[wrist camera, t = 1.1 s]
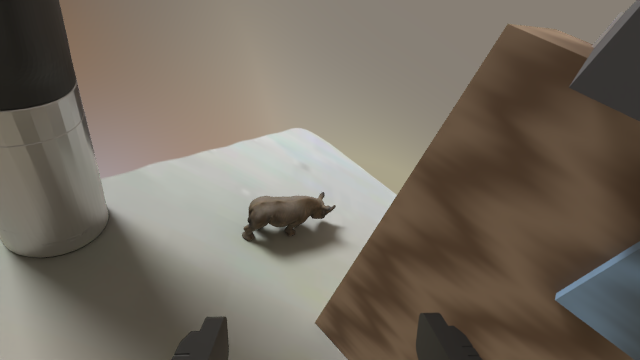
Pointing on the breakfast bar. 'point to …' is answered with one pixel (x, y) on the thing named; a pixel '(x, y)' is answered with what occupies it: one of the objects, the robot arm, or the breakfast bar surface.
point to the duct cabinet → (509, 222)
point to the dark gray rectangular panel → (615, 66)
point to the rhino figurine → (284, 212)
